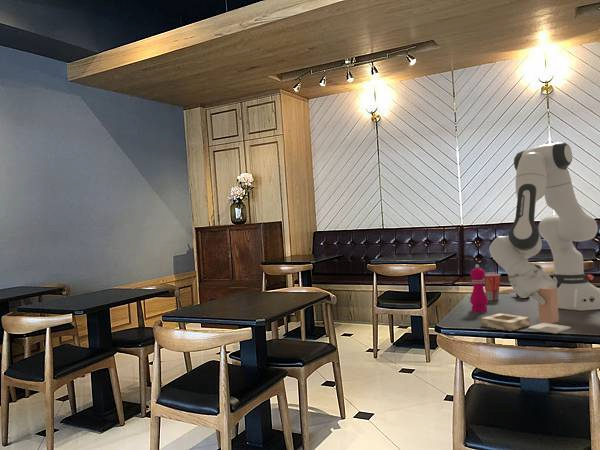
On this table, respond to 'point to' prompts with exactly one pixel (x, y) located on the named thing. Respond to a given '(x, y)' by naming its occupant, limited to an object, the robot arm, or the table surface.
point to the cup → (492, 285)
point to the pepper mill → (478, 290)
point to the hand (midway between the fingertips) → (549, 302)
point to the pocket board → (505, 321)
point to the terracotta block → (548, 305)
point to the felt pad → (549, 327)
